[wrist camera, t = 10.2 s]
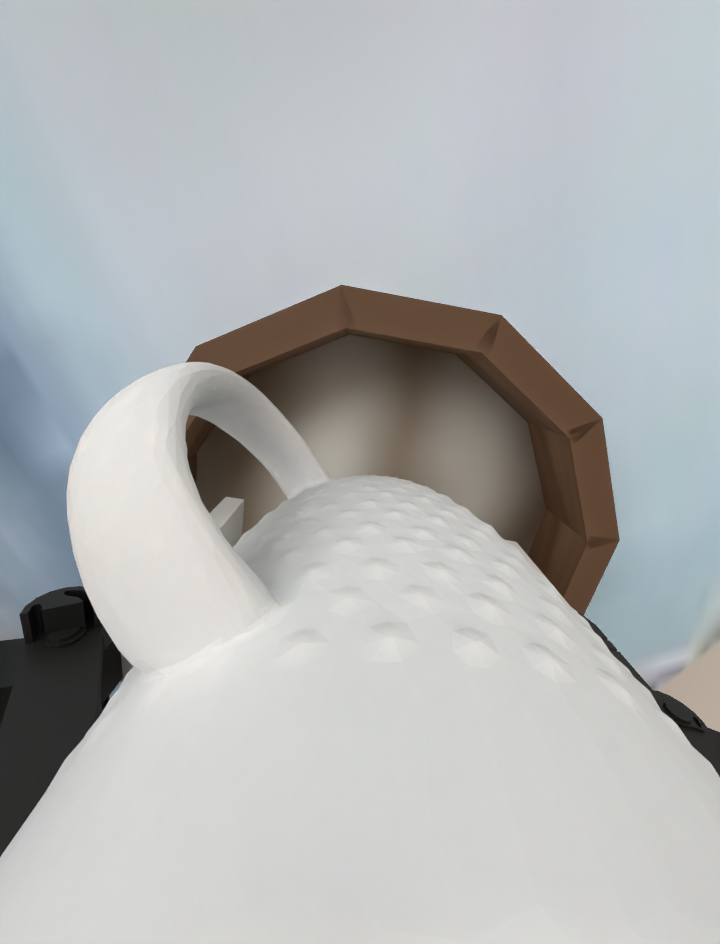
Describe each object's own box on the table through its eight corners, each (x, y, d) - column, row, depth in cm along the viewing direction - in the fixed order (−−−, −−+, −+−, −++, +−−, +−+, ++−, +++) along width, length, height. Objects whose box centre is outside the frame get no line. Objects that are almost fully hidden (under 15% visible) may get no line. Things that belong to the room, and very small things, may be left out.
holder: (173, 641, 20) (132, 703, 16) (168, 262, 14) (99, 227, 10) (496, 683, 21) (524, 751, 17) (632, 349, 15) (721, 346, 11)
